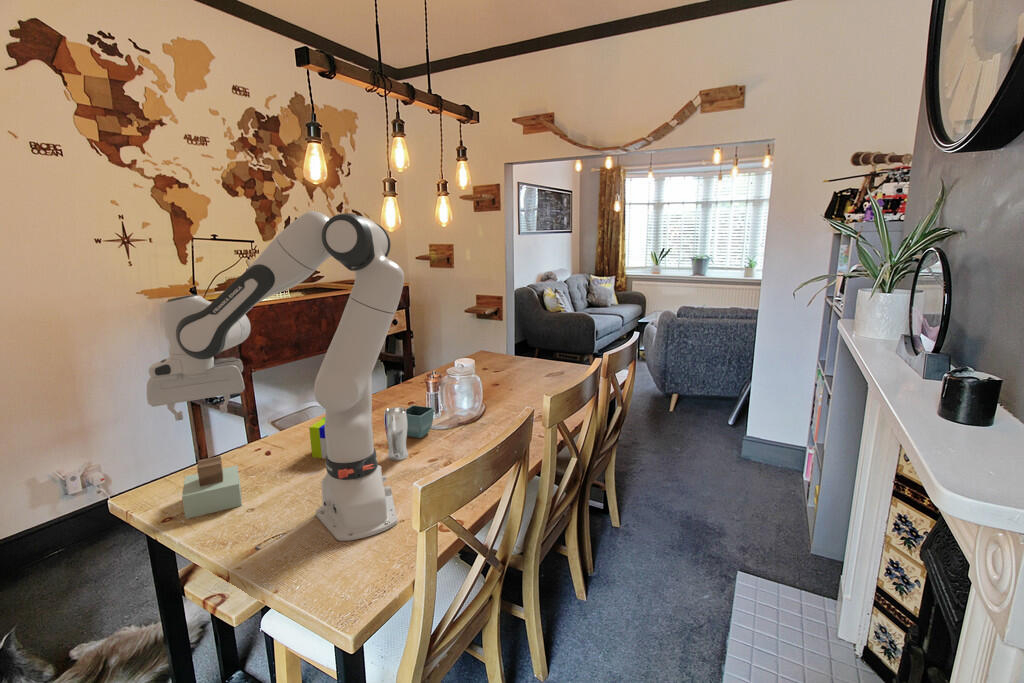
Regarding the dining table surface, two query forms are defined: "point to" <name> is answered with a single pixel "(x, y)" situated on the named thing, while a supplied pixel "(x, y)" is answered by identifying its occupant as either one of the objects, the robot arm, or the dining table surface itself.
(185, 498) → the block
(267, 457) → the dining table surface
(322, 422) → the puzzle toy
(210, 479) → the walnut cube
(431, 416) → the flower pot
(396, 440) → the beer glass
